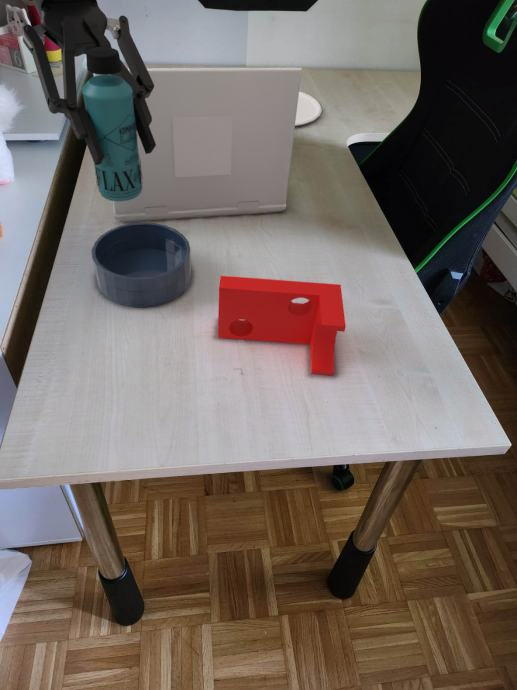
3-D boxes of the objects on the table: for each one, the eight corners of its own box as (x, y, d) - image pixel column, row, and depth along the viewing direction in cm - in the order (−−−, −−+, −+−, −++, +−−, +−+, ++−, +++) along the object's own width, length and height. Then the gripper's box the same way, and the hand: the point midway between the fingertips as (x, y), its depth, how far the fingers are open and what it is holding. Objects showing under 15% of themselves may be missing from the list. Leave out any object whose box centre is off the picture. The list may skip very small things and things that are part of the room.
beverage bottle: (91, 207, 74) (62, 54, 60) (111, 184, 79) (88, 38, 64) (134, 215, 73) (115, 62, 59) (151, 192, 78) (137, 45, 64)
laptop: (257, 156, 127) (266, 24, 106) (285, 214, 109) (303, 69, 89) (111, 161, 119) (91, 22, 99) (115, 225, 102) (92, 70, 82)
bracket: (340, 280, 78) (345, 326, 71) (328, 329, 85) (333, 375, 78) (221, 271, 77) (214, 316, 70) (220, 321, 85) (214, 366, 78)
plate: (245, 81, 161) (245, 77, 160) (334, 102, 154) (335, 98, 153) (201, 114, 142) (201, 109, 141) (301, 139, 135) (301, 134, 134)
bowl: (99, 312, 84) (93, 284, 80) (95, 254, 95) (90, 226, 91) (198, 301, 88) (197, 273, 83) (183, 246, 98) (182, 219, 94)
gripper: (122, -8, 73) (182, 151, 76) (-24, 3, 64) (49, 181, 67) (134, -47, 66) (200, 129, 69) (-27, -40, 58) (55, 160, 60)
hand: (125, 154), depth 68 cm, fingers closed on beverage bottle, 6 cm apart
